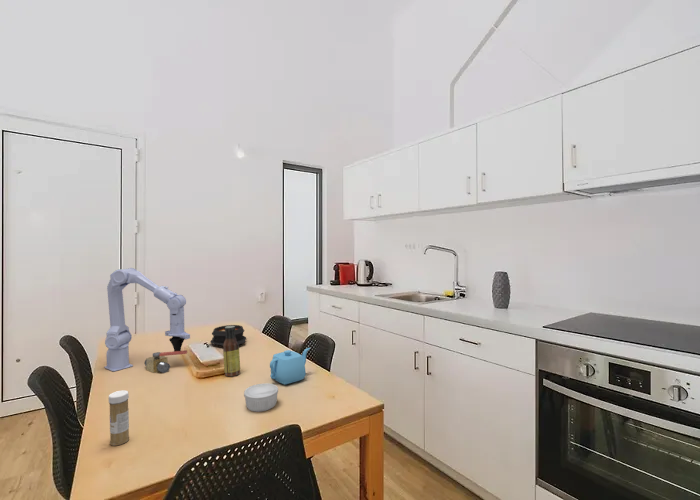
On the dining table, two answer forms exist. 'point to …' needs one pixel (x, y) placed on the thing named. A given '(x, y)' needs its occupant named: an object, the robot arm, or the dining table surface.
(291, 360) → the teapot
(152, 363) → the valve fixture
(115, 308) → the robot arm
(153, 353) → the lever
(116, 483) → the dining table surface
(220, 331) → the casserole
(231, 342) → the sauce bottle
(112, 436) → the sprinkles bottle
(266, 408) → the ramekin
